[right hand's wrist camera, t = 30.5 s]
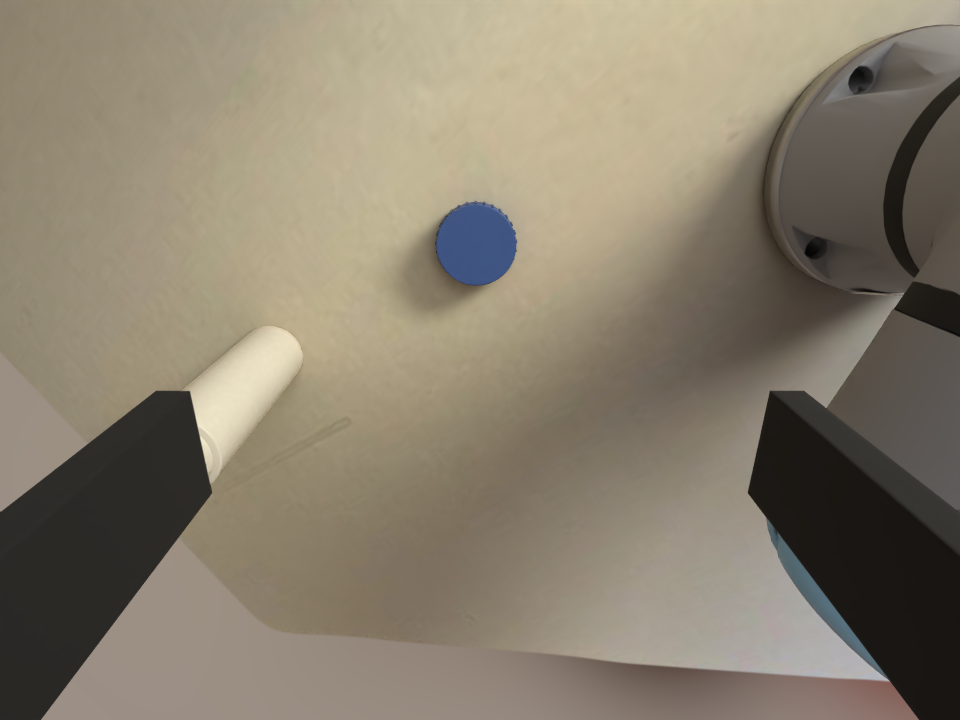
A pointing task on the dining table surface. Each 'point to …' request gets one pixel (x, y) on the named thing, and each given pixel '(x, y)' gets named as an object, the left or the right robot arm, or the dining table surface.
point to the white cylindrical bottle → (241, 391)
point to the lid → (476, 243)
